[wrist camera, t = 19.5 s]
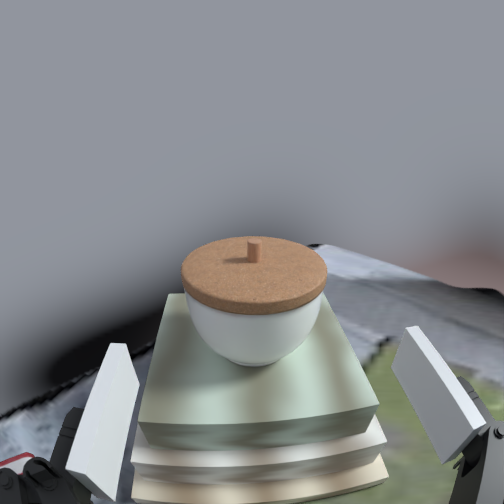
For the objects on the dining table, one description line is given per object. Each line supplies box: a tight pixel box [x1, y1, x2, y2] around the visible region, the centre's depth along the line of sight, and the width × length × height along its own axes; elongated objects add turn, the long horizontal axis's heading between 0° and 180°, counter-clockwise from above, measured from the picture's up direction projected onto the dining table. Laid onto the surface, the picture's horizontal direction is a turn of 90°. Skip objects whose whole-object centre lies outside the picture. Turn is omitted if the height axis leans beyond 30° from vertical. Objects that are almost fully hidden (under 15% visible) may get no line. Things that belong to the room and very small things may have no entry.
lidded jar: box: [181, 236, 327, 367], centre depth 24 cm, size 11×11×9 cm
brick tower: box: [131, 294, 389, 504], centre depth 27 cm, size 22×24×10 cm
